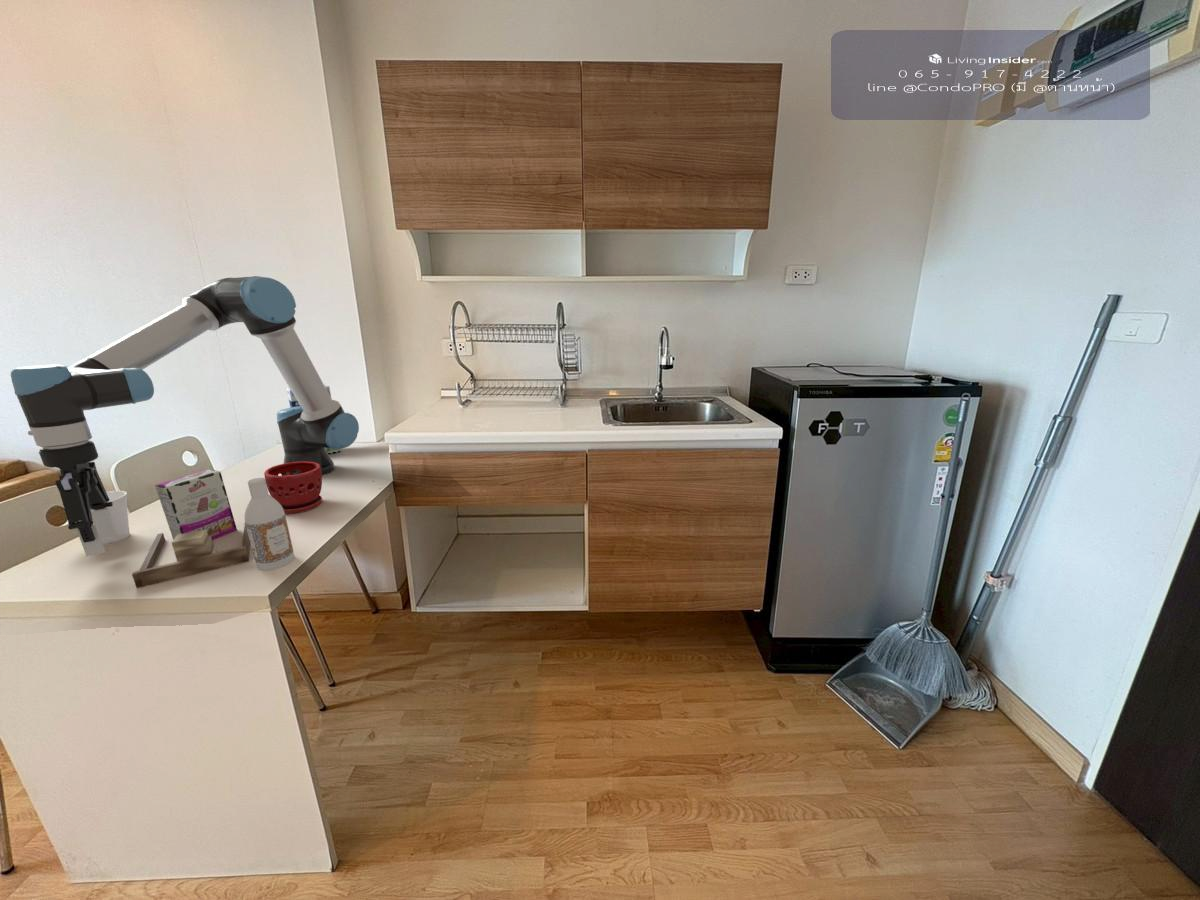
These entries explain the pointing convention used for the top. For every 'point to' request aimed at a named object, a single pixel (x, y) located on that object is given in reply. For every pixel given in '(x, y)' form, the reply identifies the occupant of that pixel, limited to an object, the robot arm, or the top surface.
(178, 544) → the offcut top
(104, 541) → the cup
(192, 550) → the offcut mid
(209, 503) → the candy bar box
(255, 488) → the bath foam
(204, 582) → the top surface
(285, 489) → the plant pot
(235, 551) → the wooden frame
